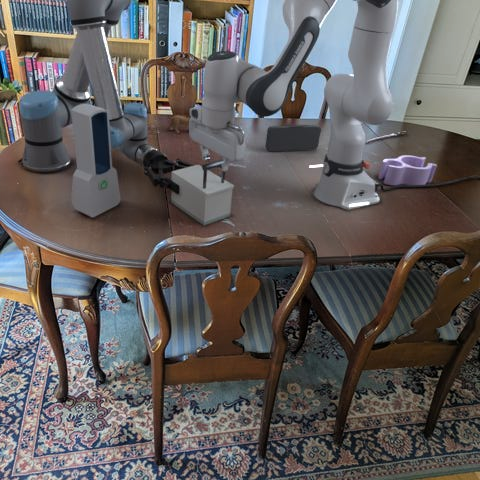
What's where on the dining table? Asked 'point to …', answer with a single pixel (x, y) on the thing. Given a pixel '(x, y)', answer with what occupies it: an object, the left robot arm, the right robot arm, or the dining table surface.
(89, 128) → the electronic device
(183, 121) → the lion figurine
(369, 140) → the sword
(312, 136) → the handheld gaming console
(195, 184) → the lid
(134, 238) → the dining table surface
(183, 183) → the chest
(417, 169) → the clip
